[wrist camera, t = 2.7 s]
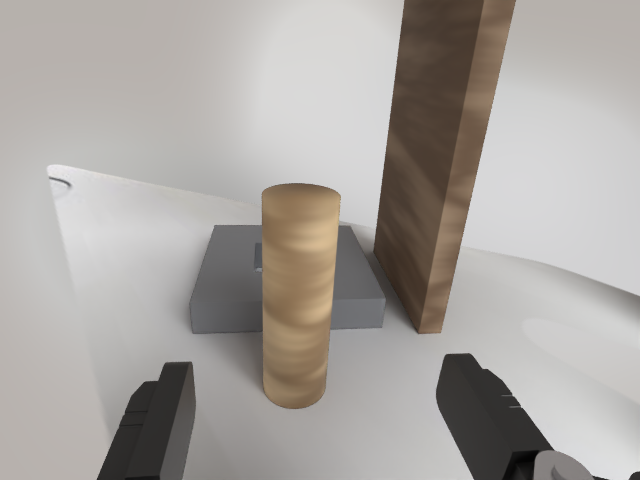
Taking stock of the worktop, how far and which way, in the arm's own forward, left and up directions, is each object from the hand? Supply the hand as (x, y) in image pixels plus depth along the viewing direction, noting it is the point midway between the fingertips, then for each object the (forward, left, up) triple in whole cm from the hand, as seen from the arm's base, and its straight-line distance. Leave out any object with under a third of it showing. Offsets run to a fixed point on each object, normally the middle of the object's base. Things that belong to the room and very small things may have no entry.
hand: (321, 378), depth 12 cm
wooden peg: (0, -12, -12) cm, 16 cm away
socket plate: (0, -26, -12) cm, 28 cm away
